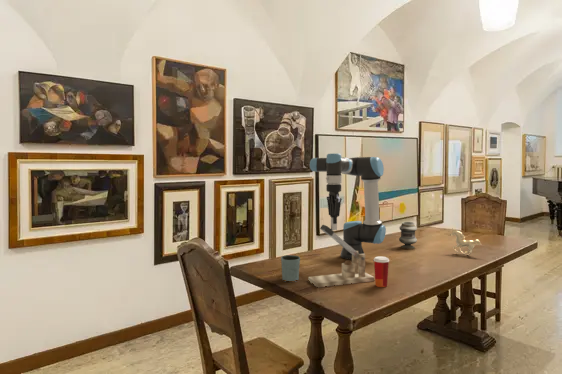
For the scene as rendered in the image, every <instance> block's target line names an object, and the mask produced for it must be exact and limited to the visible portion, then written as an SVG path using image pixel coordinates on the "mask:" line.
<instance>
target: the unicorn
mask: <svg viewBox="0 0 562 374" xmlns="http://www.w3.org/2000/svg"><path fill="white" fill-rule="evenodd" d="M450 236H455V242H456V245H453V246H452V249H453V250H454V252H455V253H456V254H457V253H459V252H461V254H462V255H468V256H469V255H471V254H472V253H473V249H474V247H476V245H477V246H482V243H481V241H480V240H479V239H475V240H466V239H465V238H466V237H465V235H464V233H463V232H462V231H460V230H456V229H454V228H452V232H450ZM456 248H458V250H457V249H456ZM462 248H467V251H465V252H464V251H462Z"/></svg>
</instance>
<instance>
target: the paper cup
mask: <svg viewBox="0 0 562 374" xmlns="http://www.w3.org/2000/svg"><path fill="white" fill-rule="evenodd" d="M389 262H390V259H389V257H386V256H375V257H374V258H373V264H374V266H373V267H374V282H375V283H374V284H375V286H376V287H377V288H386V287H388V281H389V279H388V278H389V277H388V276H389V265H390V263H389Z"/></svg>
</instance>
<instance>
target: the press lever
mask: <svg viewBox="0 0 562 374" xmlns="http://www.w3.org/2000/svg"><path fill="white" fill-rule="evenodd" d="M319 229H320V230H321V231H322V232H323V233H324V234H325V235H327V236H329V237H330V238H332V240H334V241H335V242H336V243H338V244H339V245H340V246H341V247H342V248H343V247H344V248H345V249H346V250H347V251H348V252H350V253H351V254H352V255H353V256H354V257H355V258H357V259H358V257H359V253H358V252H357V251H355V250H354V249H353V248H352V247H351V246H349V245H348V244H347V243H346V242H345V241H343V238H341V236H339V235H338V234H336V233H335V230H331V227H329V226H327V225H325V224H322V225H321V226H320V228H319Z"/></svg>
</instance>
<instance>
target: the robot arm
mask: <svg viewBox="0 0 562 374" xmlns="http://www.w3.org/2000/svg"><path fill="white" fill-rule="evenodd" d="M309 169H310V171H311V172H316V173H319V172H322V173H326V177H325V179H326V192H327V193H328V196H326V200H327V209H328V216H330V229H331V230H333V231H338V217H339V216H340V213H341V212H340V211H341V203H342V200H343V199H342V197H341V198H340V194H339V193H340V192H342V174H343V175H348V176H355V177H360V180H361V181H362V182H363V196H364V214H365V216H364V218H365V220H363V221H362V220H354V221H345V222H344V223H343V226H342V230H343V231H342V232H343V234H342V235H343V238H342V240H343V241H345V242H346V243H347V244H348V245H349V246H351V247H352V248H353V249H354V250H355V251H358V253H359V254H365V252H364V248H363V246H362V243H369V244H374V245H375V244H376V245H378V244H382V243H383V241H384V240H385V237H386V232H387V230H386V229H387V228H386V225H384V224H383V221H382V220H381V219H380V201H379V200H380V199H379V198H380V197H379V196H380V195H379V181H380V180H381V177H382V176H383V175H384V171H385V168H384V163H383V161H382V159H381V158H380V157H378V156H356V157H350V158H348V157H346V156H345V157H342V154H341V153H327V154H326V157H313V158H311V159H310V161H309ZM340 258H341V259H344V258H345V260H350V261H352V254H351V253H350V252H348V251H347V250H346V249H345V248H344V247H342V249H341V252H340Z"/></svg>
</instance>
